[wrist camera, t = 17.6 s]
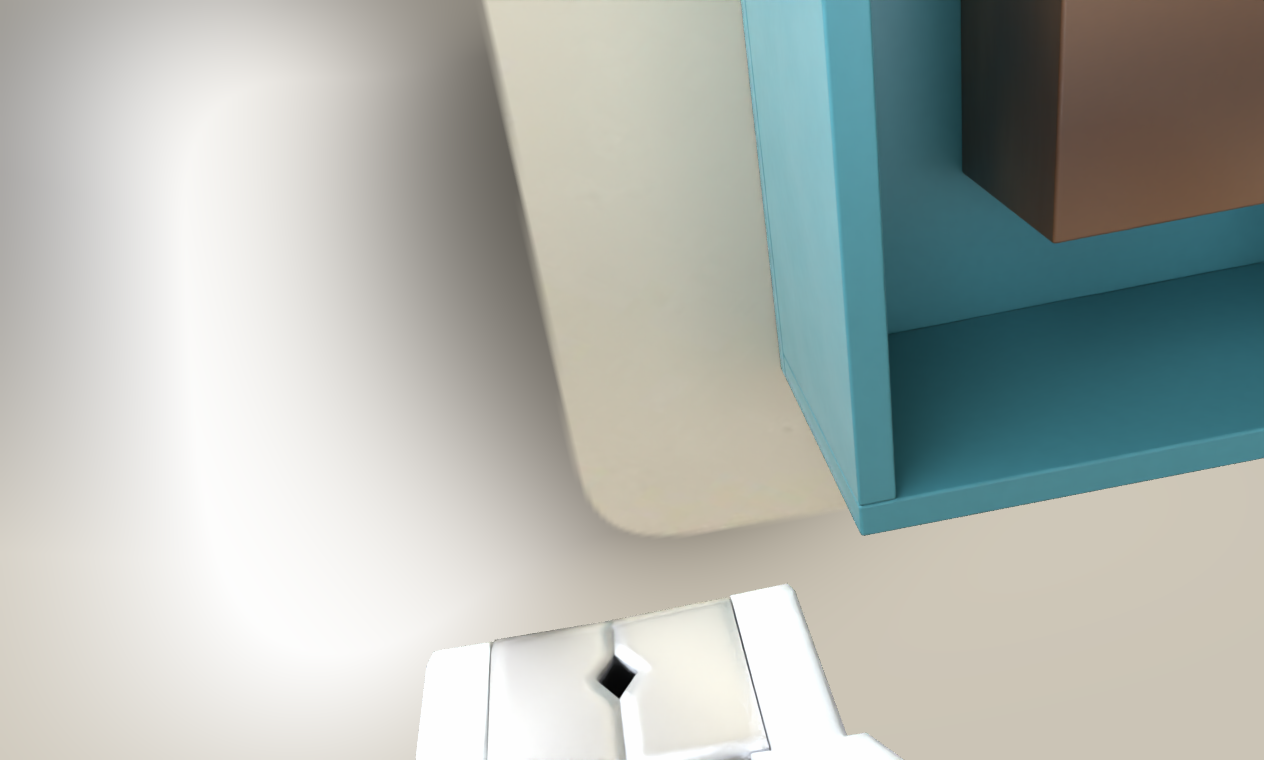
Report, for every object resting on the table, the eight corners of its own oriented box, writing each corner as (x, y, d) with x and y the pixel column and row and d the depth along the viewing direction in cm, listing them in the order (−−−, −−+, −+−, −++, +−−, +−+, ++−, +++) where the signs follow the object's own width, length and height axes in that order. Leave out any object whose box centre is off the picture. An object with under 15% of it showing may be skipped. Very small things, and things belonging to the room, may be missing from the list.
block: (1159, 135, 25) (1293, 199, 21) (960, 172, 25) (1053, 245, 21) (1178, -84, 23) (1335, -64, 18) (959, -42, 23) (1062, -11, 18)
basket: (1302, 268, 28) (1544, 405, 21) (780, 369, 28) (861, 538, 21) (1409, -379, 21) (1818, -475, 14) (713, -245, 21) (802, -280, 14)
